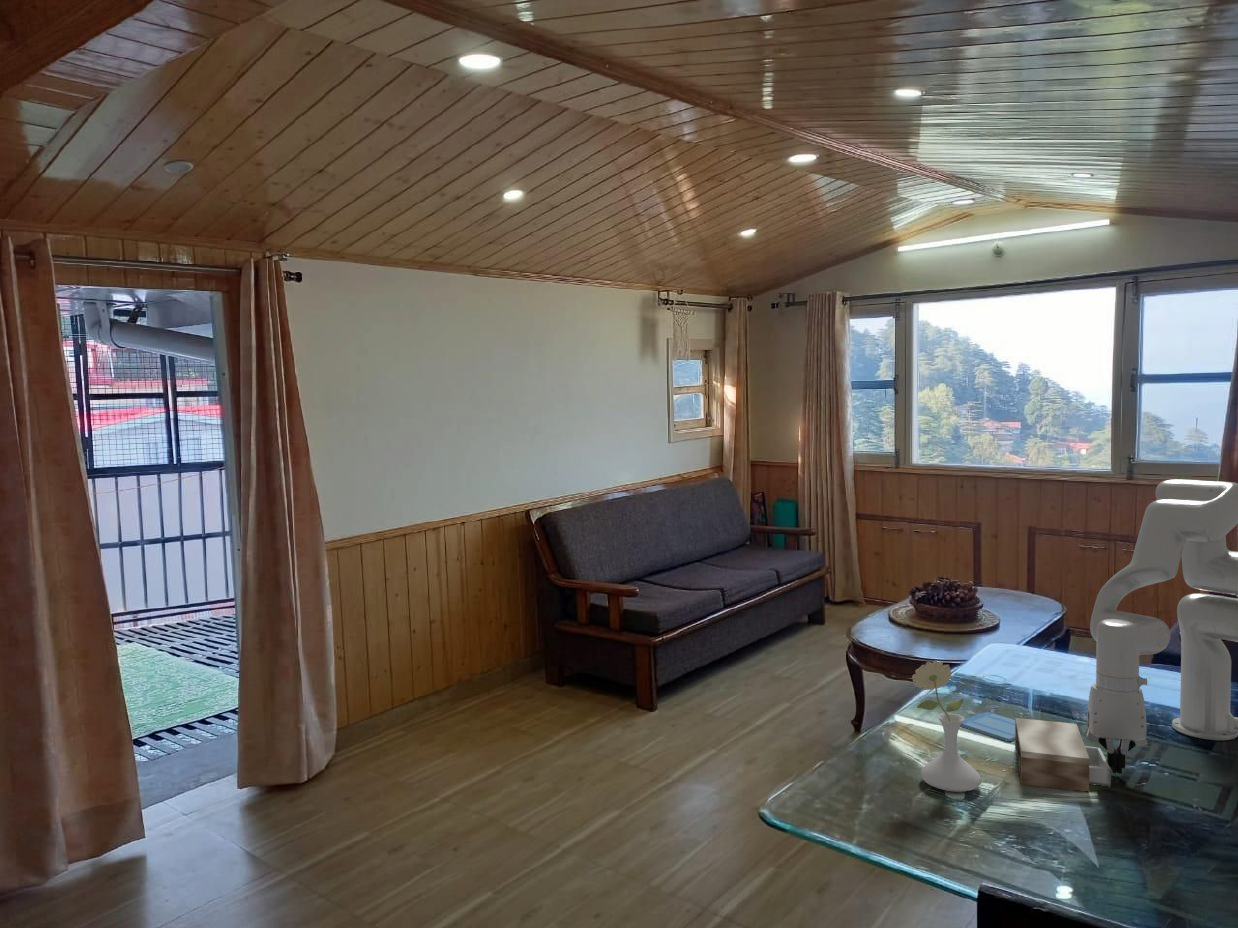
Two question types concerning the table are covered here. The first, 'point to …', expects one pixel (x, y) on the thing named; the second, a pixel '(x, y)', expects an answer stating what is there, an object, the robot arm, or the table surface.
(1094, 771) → the white open tray
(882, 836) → the table surface
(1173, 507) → the robot arm
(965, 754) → the table surface
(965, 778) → the flower in vase
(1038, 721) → the tan slab
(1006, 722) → the blue flat rectangular slab
